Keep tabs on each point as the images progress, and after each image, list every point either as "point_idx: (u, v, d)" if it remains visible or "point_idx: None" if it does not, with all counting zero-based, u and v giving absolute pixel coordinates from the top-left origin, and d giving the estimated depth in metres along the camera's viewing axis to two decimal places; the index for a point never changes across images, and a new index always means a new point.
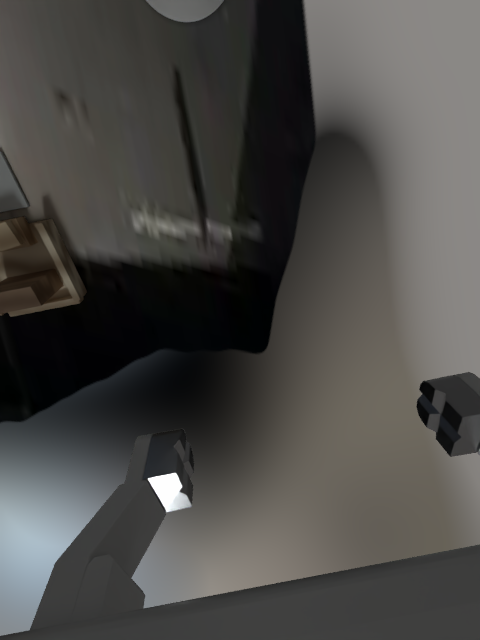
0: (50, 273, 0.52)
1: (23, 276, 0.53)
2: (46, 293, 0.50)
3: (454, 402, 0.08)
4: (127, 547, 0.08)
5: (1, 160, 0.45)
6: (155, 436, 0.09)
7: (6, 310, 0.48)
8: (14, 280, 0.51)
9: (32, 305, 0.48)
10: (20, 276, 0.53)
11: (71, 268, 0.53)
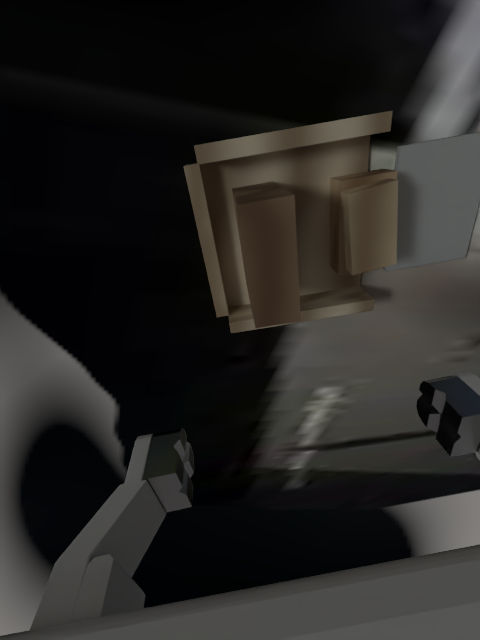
0: None
1: None
2: None
3: (454, 402, 0.08)
4: (127, 547, 0.08)
5: (455, 255, 0.29)
6: (155, 436, 0.09)
7: (250, 255, 0.19)
8: None
9: (257, 312, 0.22)
10: None
11: None
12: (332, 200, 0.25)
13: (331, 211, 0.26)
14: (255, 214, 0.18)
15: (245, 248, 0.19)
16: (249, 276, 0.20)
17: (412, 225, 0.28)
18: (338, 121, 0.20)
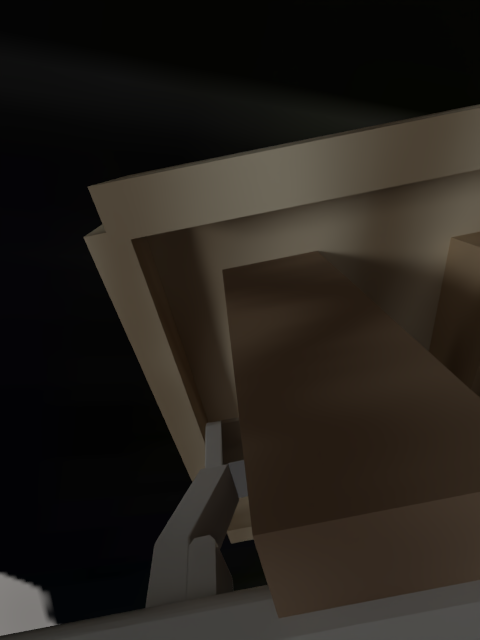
0: None
1: None
2: None
3: None
4: (213, 531, 0.08)
5: None
6: (225, 422, 0.09)
7: None
8: None
9: None
10: None
11: None
12: (454, 286, 0.11)
13: (445, 306, 0.12)
14: (343, 548, 0.04)
15: None
16: None
17: None
18: None
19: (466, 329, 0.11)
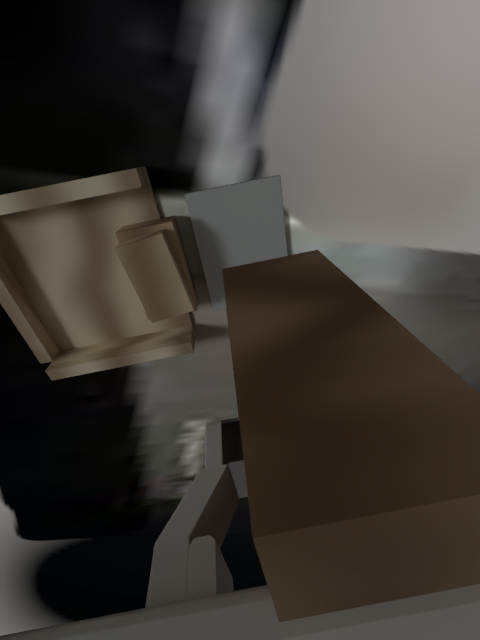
0: None
1: None
2: None
3: None
4: (213, 530, 0.08)
5: None
6: (225, 422, 0.09)
7: None
8: None
9: None
10: None
11: None
12: None
13: None
14: (345, 551, 0.04)
15: None
16: None
17: (224, 267, 0.27)
18: (82, 180, 0.20)
19: None
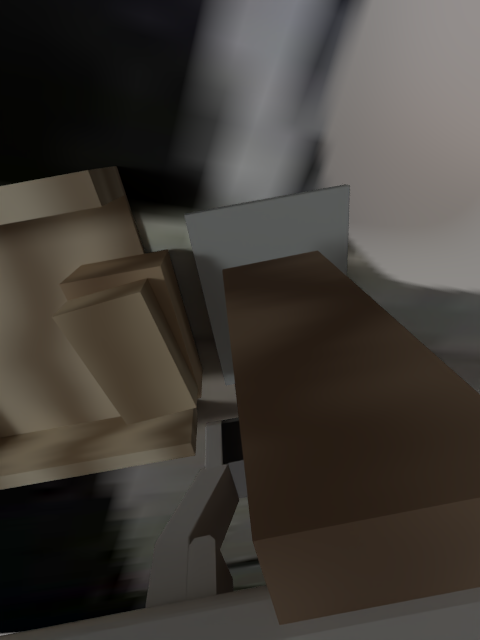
0: None
1: None
2: None
3: None
4: (213, 531, 0.08)
5: None
6: (225, 422, 0.09)
7: None
8: None
9: None
10: None
11: None
12: None
13: None
14: (346, 554, 0.04)
15: (286, 623, 0.05)
16: None
17: None
18: None
19: None
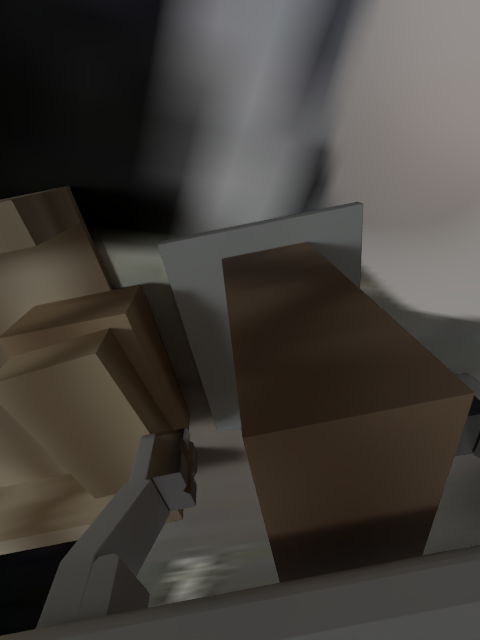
0: None
1: None
2: None
3: None
4: (132, 546, 0.08)
5: None
6: (159, 435, 0.09)
7: (285, 536, 0.06)
8: None
9: None
10: None
11: None
12: None
13: None
14: (312, 455, 0.05)
15: (271, 527, 0.06)
16: (281, 569, 0.07)
17: None
18: None
19: None
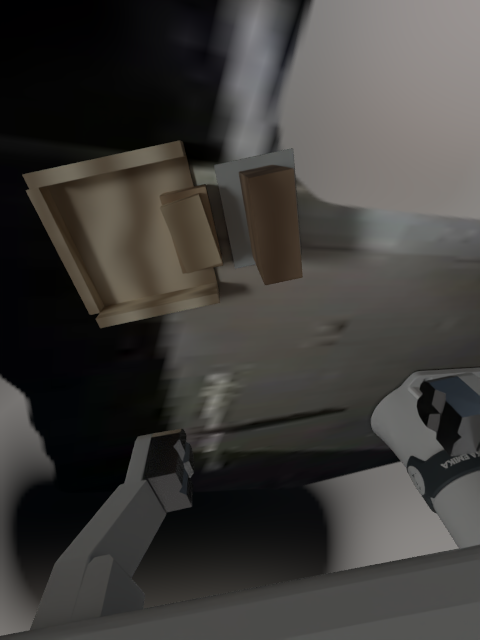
0: None
1: None
2: None
3: (454, 402, 0.08)
4: (127, 547, 0.08)
5: None
6: (155, 436, 0.09)
7: (259, 220, 0.24)
8: None
9: (266, 270, 0.26)
10: None
11: None
12: None
13: None
14: (263, 185, 0.23)
15: (255, 214, 0.24)
16: (259, 239, 0.25)
17: (245, 229, 0.32)
18: (137, 150, 0.25)
19: None
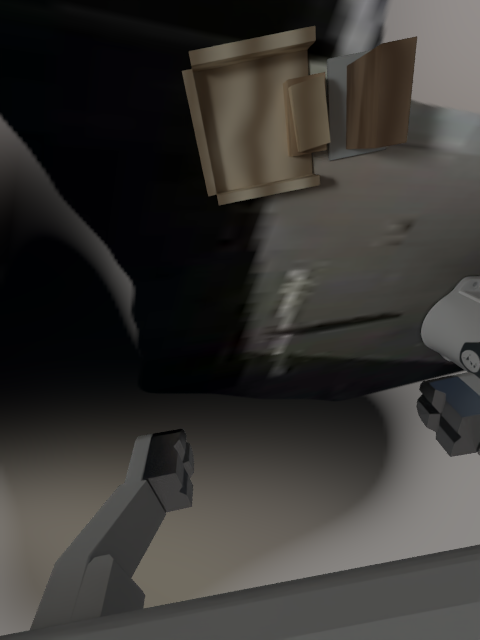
0: None
1: None
2: None
3: (454, 402, 0.08)
4: (127, 547, 0.08)
5: None
6: (155, 436, 0.09)
7: (382, 84, 0.30)
8: None
9: (379, 133, 0.33)
10: None
11: None
12: (285, 100, 0.37)
13: (285, 109, 0.38)
14: (391, 51, 0.29)
15: (381, 78, 0.30)
16: (379, 102, 0.31)
17: (344, 121, 0.39)
18: (281, 33, 0.32)
19: (288, 112, 0.37)
